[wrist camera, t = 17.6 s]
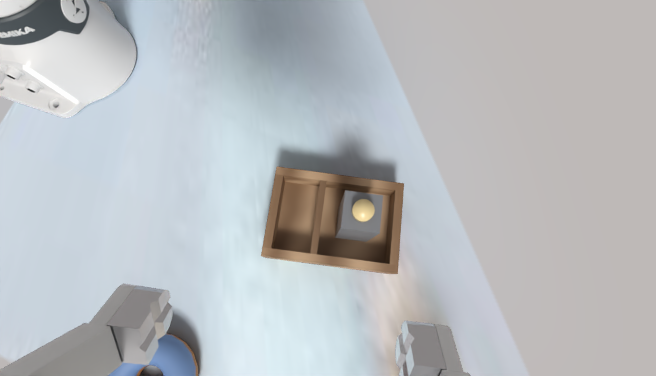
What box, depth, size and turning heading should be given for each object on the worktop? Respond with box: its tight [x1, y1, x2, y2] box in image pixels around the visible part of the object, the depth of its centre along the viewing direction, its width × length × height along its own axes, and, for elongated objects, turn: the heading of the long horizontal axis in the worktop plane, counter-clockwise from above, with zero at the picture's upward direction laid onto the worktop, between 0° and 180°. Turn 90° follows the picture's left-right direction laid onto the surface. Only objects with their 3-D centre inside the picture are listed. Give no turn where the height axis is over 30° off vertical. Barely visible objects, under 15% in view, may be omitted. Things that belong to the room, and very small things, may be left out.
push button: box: [335, 190, 383, 242], centre depth 38 cm, size 4×4×10 cm
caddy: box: [261, 167, 404, 274], centre depth 42 cm, size 16×11×4 cm
